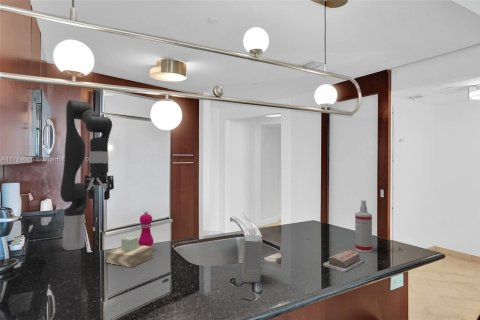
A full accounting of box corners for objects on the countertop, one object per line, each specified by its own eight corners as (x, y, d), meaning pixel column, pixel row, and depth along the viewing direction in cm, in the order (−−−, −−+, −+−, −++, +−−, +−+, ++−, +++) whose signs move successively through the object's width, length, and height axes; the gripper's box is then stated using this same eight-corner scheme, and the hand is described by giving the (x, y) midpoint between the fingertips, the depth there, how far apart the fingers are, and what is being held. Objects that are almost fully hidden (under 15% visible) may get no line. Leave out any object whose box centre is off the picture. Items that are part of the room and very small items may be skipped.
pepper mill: (144, 254, 144) (144, 212, 144) (135, 251, 148) (135, 211, 148) (156, 250, 149) (156, 210, 149) (147, 248, 154) (147, 209, 154)
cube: (121, 250, 133) (121, 239, 133) (128, 247, 138) (129, 236, 138) (130, 251, 132) (130, 240, 132) (137, 248, 136) (137, 237, 136)
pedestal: (105, 263, 131) (105, 252, 131) (127, 254, 144) (128, 243, 144) (132, 267, 126) (132, 255, 126) (152, 257, 139) (152, 246, 139)
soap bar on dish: (343, 247, 140) (364, 252, 133) (343, 257, 140) (364, 263, 133) (322, 255, 128) (344, 261, 120) (322, 267, 128) (344, 273, 120)
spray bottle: (352, 249, 152) (352, 200, 152) (360, 246, 156) (360, 199, 156) (366, 253, 146) (366, 201, 146) (374, 250, 150) (374, 200, 150)
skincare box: (241, 274, 118) (241, 234, 118) (259, 274, 119) (259, 234, 119) (243, 283, 110) (243, 240, 110) (262, 282, 110) (262, 239, 110)
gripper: (79, 162, 130) (79, 199, 130) (105, 162, 125) (105, 201, 125) (93, 162, 137) (93, 197, 137) (118, 162, 132) (118, 198, 132)
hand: (98, 199), depth 131 cm, fingers open, 8 cm apart
